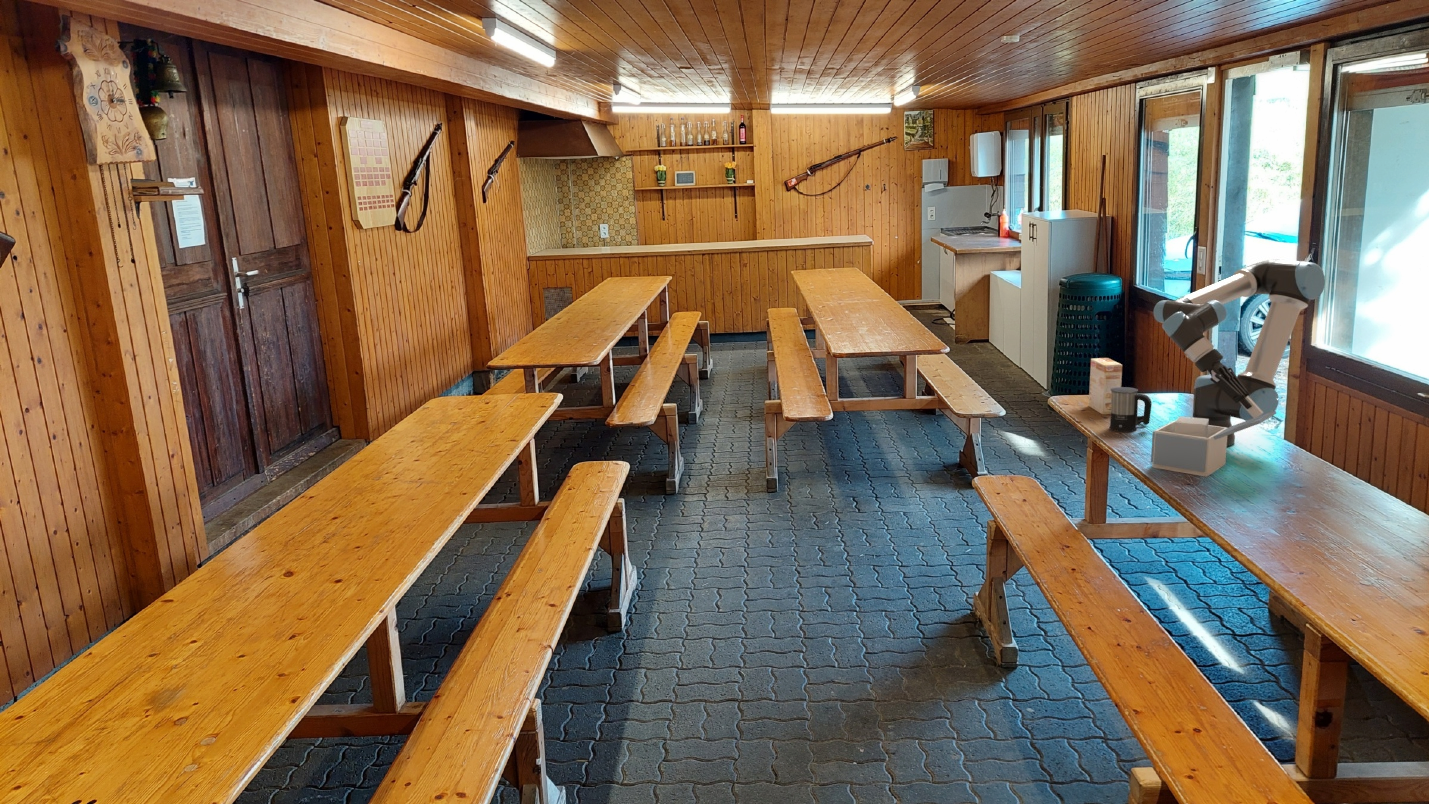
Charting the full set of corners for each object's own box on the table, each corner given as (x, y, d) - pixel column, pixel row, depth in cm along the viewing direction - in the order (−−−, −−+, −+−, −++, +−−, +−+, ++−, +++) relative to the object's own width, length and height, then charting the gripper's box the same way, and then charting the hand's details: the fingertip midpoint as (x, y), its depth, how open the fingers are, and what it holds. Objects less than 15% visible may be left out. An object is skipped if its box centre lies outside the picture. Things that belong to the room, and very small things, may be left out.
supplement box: (1202, 471, 306) (1206, 424, 302) (1171, 468, 310) (1174, 422, 307) (1206, 463, 313) (1209, 418, 310) (1175, 460, 318) (1178, 415, 314)
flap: (1213, 436, 297) (1258, 420, 287) (1230, 426, 308) (1274, 410, 298) (1214, 439, 297) (1260, 423, 287) (1231, 429, 308) (1276, 413, 298)
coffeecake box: (1120, 414, 379) (1123, 364, 374) (1101, 414, 379) (1104, 365, 374) (1106, 405, 393) (1108, 357, 389) (1088, 406, 393) (1090, 358, 389)
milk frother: (1109, 432, 355) (1111, 391, 351) (1105, 421, 369) (1107, 382, 366) (1152, 433, 351) (1155, 392, 347) (1146, 422, 365) (1148, 383, 362)
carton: (1148, 467, 312) (1150, 430, 309) (1170, 454, 324) (1172, 419, 321) (1205, 477, 300) (1208, 439, 297) (1226, 463, 312) (1229, 427, 309)
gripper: (1202, 359, 309) (1255, 418, 301) (1186, 366, 300) (1241, 427, 292) (1221, 344, 304) (1276, 404, 296) (1206, 351, 295) (1262, 412, 287)
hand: (1259, 415), depth 294 cm, fingers closed
